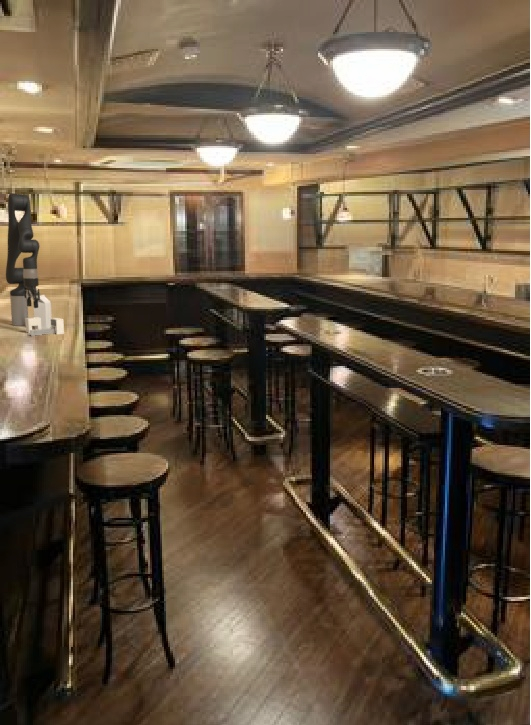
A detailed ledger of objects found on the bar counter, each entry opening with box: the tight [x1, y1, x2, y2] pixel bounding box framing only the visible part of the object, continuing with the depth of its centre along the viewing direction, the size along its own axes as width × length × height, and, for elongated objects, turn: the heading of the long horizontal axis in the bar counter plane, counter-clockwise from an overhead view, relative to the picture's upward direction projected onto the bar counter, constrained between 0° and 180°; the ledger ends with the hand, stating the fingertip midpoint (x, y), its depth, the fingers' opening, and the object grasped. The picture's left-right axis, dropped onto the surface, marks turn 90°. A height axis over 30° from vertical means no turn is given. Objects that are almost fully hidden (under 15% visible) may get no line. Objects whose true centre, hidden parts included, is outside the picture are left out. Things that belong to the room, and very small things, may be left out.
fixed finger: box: [51, 317, 65, 335], centre depth 339 cm, size 7×4×8 cm, turn 44°
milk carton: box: [33, 294, 53, 329], centre depth 353 cm, size 7×7×19 cm
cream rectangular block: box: [25, 316, 41, 334], centre depth 340 cm, size 7×4×8 cm, turn 134°
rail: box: [29, 328, 56, 337], centre depth 335 cm, size 2×17×3 cm, turn 134°
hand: (32, 307), depth 338 cm, fingers open, 8 cm apart
